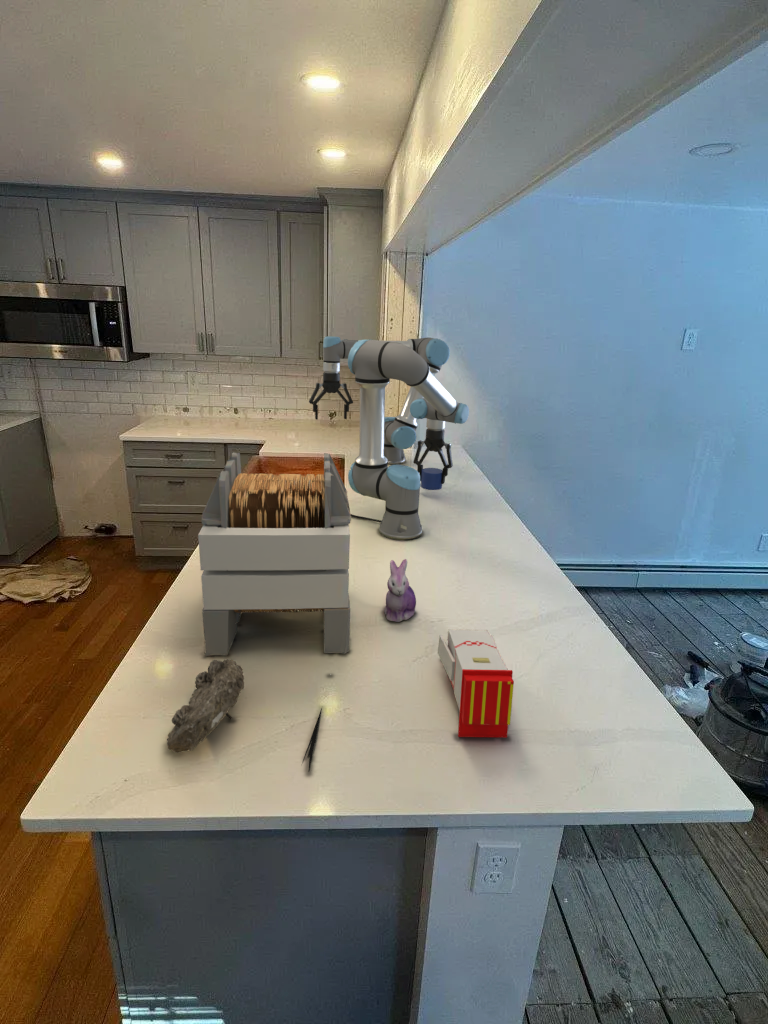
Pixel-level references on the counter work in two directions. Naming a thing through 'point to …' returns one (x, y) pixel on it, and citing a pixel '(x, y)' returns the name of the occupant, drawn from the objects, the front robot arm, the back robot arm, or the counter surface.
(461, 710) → the toy
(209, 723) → the fossil
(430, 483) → the canister
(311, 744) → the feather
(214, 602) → the transformer
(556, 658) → the counter surface
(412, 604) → the figurine
